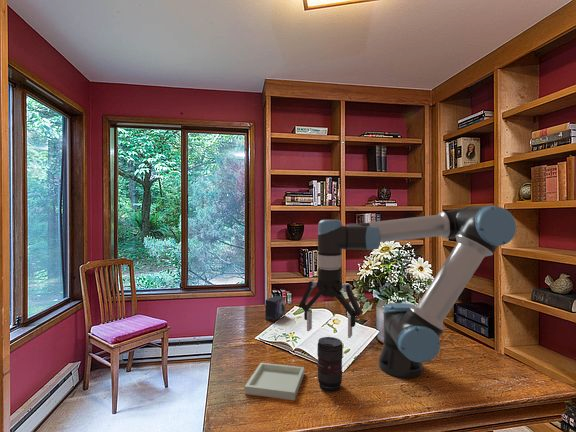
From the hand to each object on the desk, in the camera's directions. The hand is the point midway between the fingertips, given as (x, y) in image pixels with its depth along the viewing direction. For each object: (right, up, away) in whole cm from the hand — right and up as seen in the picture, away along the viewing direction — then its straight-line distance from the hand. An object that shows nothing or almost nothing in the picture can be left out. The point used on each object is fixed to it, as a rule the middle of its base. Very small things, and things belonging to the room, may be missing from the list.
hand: (329, 333), depth 105 cm
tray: (-17, -18, +3) cm, 25 cm away
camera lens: (0, -18, 0) cm, 18 cm away
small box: (-20, -16, +67) cm, 72 cm away
